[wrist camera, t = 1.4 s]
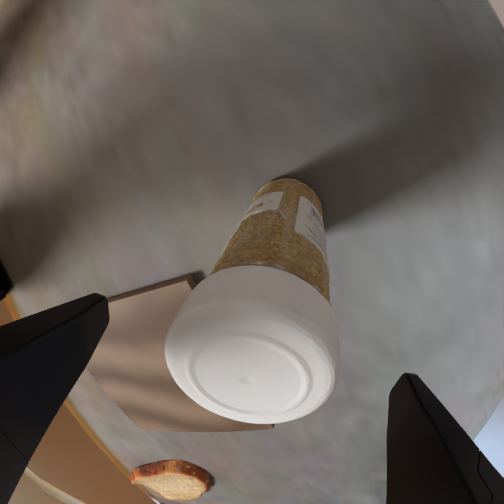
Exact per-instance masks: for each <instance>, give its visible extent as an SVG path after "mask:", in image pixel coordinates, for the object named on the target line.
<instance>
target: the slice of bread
mask: <svg viewBox="0 0 504 504" xmlns="http://www.w3.org/2000/svg"><path fill="white" fill-rule="evenodd" d="M130 480H131V482H132V484H133V483H137V484H142V485H146V486H148V487H150V488H151V489H153V490H155V491H156V492H157V493H158V494H160V495H161V496H163V497H164V498H166V499H168V500H190V499H191V500H192V499H194V498H198V497H201V496H202V493H203V492H205V491H207V489H208V487H209V486H210V484H211V480H210V477H209V476H208V474H207V473H206V472H204V471H203V470H202V469H201V468H199V467H197V466H196V465H194V464H192V463H189V462H186V461H183V460H177V459H174V460H163V461H158V462H156V463H152V464H147V465H144V466H141V467H138V468H136V469H134V470H133V472H131V474H130Z"/></svg>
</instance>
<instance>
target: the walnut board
mask: <svg viewBox="0 0 504 504" xmlns="http://www.w3.org/2000/svg"><path fill="white" fill-rule="evenodd" d="M196 286H197V284H196V282H195V280H194V278H193V276H192V274H189V275H186V276H182V277H179V278H175V279H172V280H169V281H165V282H162V283H159V284H155V285H152V286H149V287H145V288H142V289H139V290H135V291H132V292H128V293H125V294H122V295H118V296H115V297H112V298H108V306H109V315H110V320H109V324H108V326H107V328H106V330H105V332H104V334H103V336H102V338H101V340H100V342H99V343H98V345H97V347H96V349H95V351H94V353H93V355H92V357H91V359H90V361H89V363H88V364H87V366H86V368H87V369H88V371H89V372H90V373H91V375H92V376H93V377H94V378H95V380H96V381H97V382H98V383H99V384H100V386H101V387H102V388H103V389H104V390H105V392H106V393H107V394H108V395H109V396H110V397H111V399H112V400H113V401H114V402H115V403H116V404H117V405H118V407H119V408H120V409H121V410H122V411H123V412H124V413H125V414H126V415H127V416H128V417H129V418H130V420H131V421H132V422H133V423H134V424H135V425H136V426H137V427H138V428H139V429H140V430H153V431H173V432H229V431H249V430H263V429H274V424H275V423H274V424H254V423H246V422H241V421H236V420H232V419H229V418H226V417H223V416H220V415H218V414H216V413H213V412H211V411H209V410H207V409H205V408H204V407H202V406H201V405H199V404H198V403H196V402H195V401H194V400H193V399H191V398H190V397H189V396H188V395H186V393H185V392H184V391H183V390H182V389H181V388H180V387H179V386H178V385H177V383H176V382H175V380H174V379H173V377H172V375H171V373H170V371H169V368H168V366H167V363H166V358H165V341H166V336H167V333H168V331H169V329H170V327H171V325H172V323H173V321H174V319H175V317H176V316H177V314H178V312H179V310H180V309H181V307H182V305H183V304H184V302H185V301H186V299H187V297H188V296H189V294H190V293H191V291H192V290H193V289H194V288H195V287H196Z"/></svg>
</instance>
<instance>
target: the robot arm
mask: <svg viewBox="0 0 504 504" xmlns="http://www.w3.org/2000/svg"><path fill="white" fill-rule="evenodd" d="M11 288H12V284H11V282H10V281H9V279H8V277H7V275H6V273H5V271H4V269H3V267H2V265H1V263H0V301H1V300H2V299H4V298H5V297H6V293H5V292H7V291H8V290H10V289H11ZM109 320H110V315H109V306H108V299H107V297H105V296H103V295H101V294H98V293H93V294H90V295H87V296H84V297H81V298H78V299H76V300H73V301H70V302H67V303H64V304H61V305H58V306H56V307H53V308H50V309H47V310H44V311H41V312H39V313H36V314H33V315H30V316H27V317H24V318H22V319H19V320H16V321H13V322H11V323H8V324H5V325H2V326H0V504H8V502H9V500H10V498H11V496H12V494H13V492H14V490H15V488H16V486H17V484H18V482H19V480H20V478H21V476H22V474H23V472H24V471H25V469H26V467H27V465H28V463H29V461H30V459H31V457H32V455H33V453H34V452H35V450H36V448H37V446H38V444H39V443H40V441H41V439H42V437H43V436H44V434H45V432H46V430H47V429H48V427H49V425H50V423H51V422H52V420H53V418H54V417H55V415H56V414H57V412H58V410H59V408H60V407H61V405H62V404H63V402H64V401H65V399H66V397H67V396H68V394H69V393H70V391H71V389H72V388H73V386H74V385H75V383H76V381H77V380H78V378H79V377H80V375H81V374H82V372H83V371H84V369H85V367H86V366H87V364H88V363H89V361H90V359H91V357H92V355H93V353H94V351H95V349H96V347H97V345H98V343H99V342H100V340H101V338H102V336H103V334H104V332H105V330H106V328H107V326H108V324H109ZM386 504H504V478H503V477H502V476H501V475H500V473H499V472H498V471H497V470H496V469H495V468H494V467H493V466H492V464H491V463H490V462H489V461H488V459H487V458H486V457H485V456H484V454H483V453H482V452H481V451H479V448H478V447H477V446H476V445H475V443H474V442H473V441H472V439H471V438H470V437H469V436H468V435H467V433H466V432H465V431H464V430H463V428H462V427H461V426H460V425H459V424H458V422H457V421H456V420H455V419H454V418H453V416H452V415H451V414H450V413H449V412H448V410H447V409H446V408H445V407H444V406H443V404H442V403H441V402H440V401H439V400H438V399H437V397H436V396H435V395H434V394H433V393H432V392H431V390H430V389H429V388H428V387H427V386H426V385H425V383H424V382H423V381H422V380H421V379H420V378H419V377H418V375H416V374H413V373H404V374H402V375H401V377H400V378H399V380H398V381H397V383H396V384H395V385H394V387H393V388H392V390H391V392H390V395H389V410H388V426H387V497H386Z"/></svg>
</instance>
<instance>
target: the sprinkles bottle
mask: <svg viewBox="0 0 504 504" xmlns="http://www.w3.org/2000/svg"><path fill="white" fill-rule="evenodd" d="M322 217H323V212H322V205H321V202H320V200H319V198H318V196H317V195H316V193H315V192H314V191H313V190H312V189H311V188H310V187H308V185H306V184H304V183H302V182H300V181H298V180H295V179H289V178H283V179H278V180H274V181H271V182H268V183H267V184H265V185H264V186H263V187H262V188H260V189H259V190H258V192H257V193H256V194H255V196H254V197H253V199H252V203H251V205H250V206H249V208H248V209H247V211H246V212H245V214H244V216H243V217H242V219H241V221H240V223H239V224H238V226H237V228H236V229H235V231H234V232H233V234H232V236H231V237H230V239H229V241H228V242H227V244H226V246H225V247H224V250H223V252H222V255H221V257H220V259H219V260H218V262H217V263H216V264H215V266H214V268H213V270H212V272H211V274H210V275H209V276H208V277H207V278H205V279H204V280H202V281H201V282H200V283H199V284H198V285H197V286H196V287H195V288H194V289H193V290H192V291H191V293H190V294H189V296H188V297H187V299H186V301H185V302H184V304H183V305H182V307H181V309H180V310H179V312H178V314H177V316H176V317H175V319H174V321H173V323H172V325H171V327H170V329H169V331H168V333H167V336H166V341H165V358H166V363H167V366H168V368H169V371H170V373H171V375H172V377H173V379H174V380H175V382H176V383H177V385H178V386H179V387H180V388H181V389H182V390H183V391H184V392H185V393H186V395H188V396H189V397H190V398H191V399H193V400H194V401H195V402H196V403H198V404H199V405H201V406H202V407H204V408H205V409H207V410H209V411H211V412H213V413H216V414H218V415H220V416H223V417H226V418H229V419H232V420H236V421H241V422H246V423H254V424H274V423H282V422H287V421H291V420H295V419H298V418H301V417H303V416H305V415H307V414H309V413H311V412H313V411H314V410H316V409H317V408H319V407H320V406H321V405H322V404H323V403H324V402H325V401H326V400H327V399H328V398H329V397H330V395H331V394H332V393H333V390H334V388H335V387H336V384H337V381H338V377H339V371H340V347H339V333H338V325H337V320H336V317H335V314H334V312H333V309H332V308H331V305H330V301H329V299H330V297H329V278H330V275H329V265H328V257H327V248H326V239H325V231H324V224H323V220H322Z"/></svg>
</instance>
